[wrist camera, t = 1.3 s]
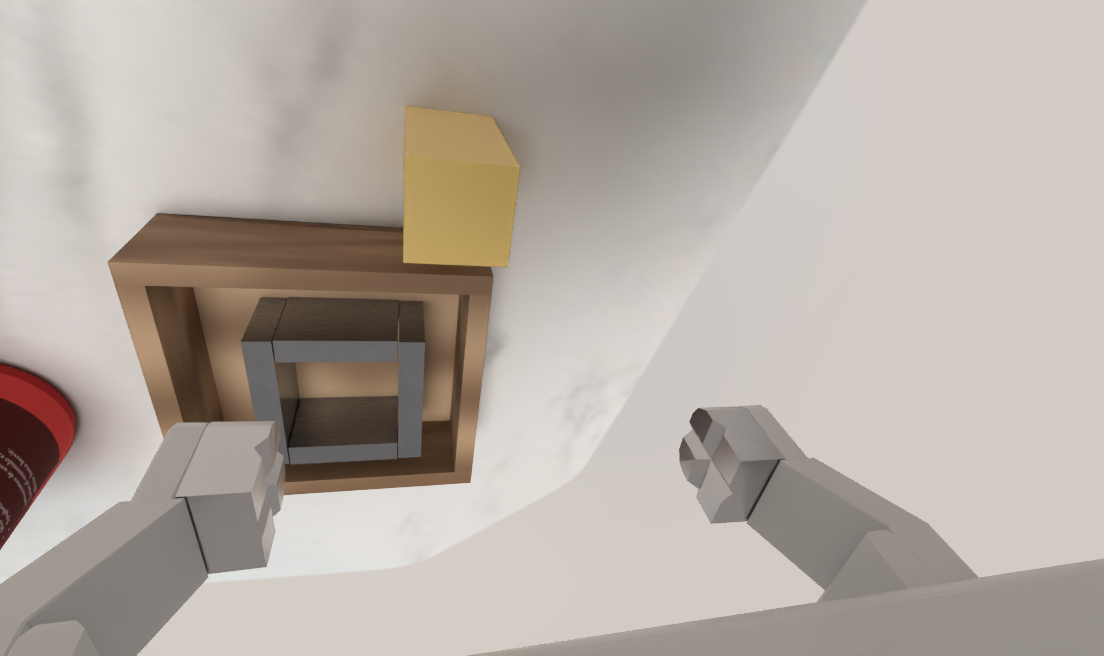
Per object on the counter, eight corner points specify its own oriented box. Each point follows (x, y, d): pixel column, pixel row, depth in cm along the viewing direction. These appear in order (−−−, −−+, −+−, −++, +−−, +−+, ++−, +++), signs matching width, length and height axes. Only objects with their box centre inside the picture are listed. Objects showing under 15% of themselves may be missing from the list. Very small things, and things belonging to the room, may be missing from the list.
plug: (405, 105, 24) (404, 156, 18) (492, 116, 25) (520, 167, 19) (404, 190, 26) (403, 262, 20) (484, 196, 27) (507, 267, 21)
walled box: (157, 213, 24) (107, 262, 20) (481, 232, 28) (493, 276, 24) (212, 433, 32) (183, 501, 28) (463, 424, 36) (470, 482, 32)
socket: (260, 296, 27) (240, 340, 24) (423, 300, 29) (424, 341, 26) (278, 414, 31) (263, 465, 28) (419, 410, 34) (420, 457, 30)
